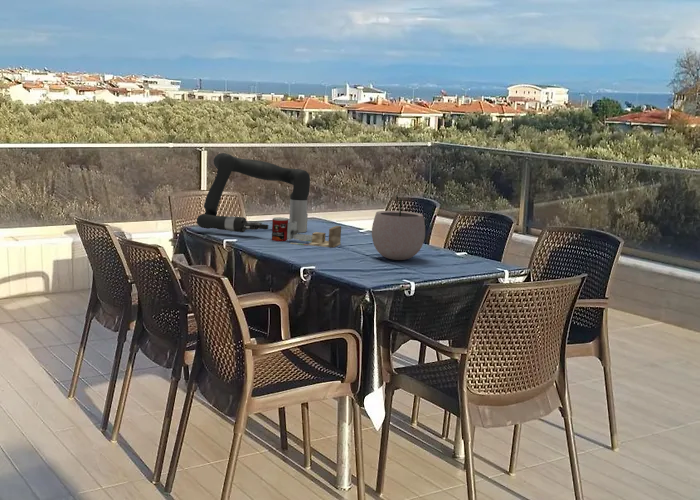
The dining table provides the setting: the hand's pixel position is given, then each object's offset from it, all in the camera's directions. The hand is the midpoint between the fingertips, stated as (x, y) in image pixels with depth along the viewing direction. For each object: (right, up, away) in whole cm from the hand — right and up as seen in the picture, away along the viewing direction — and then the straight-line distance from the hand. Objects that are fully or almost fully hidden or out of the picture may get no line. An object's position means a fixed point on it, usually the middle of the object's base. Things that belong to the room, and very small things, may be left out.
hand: (267, 227), depth 405 cm
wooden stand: (+24, -8, -6) cm, 26 cm away
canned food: (+6, -7, -1) cm, 9 cm away
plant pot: (+62, -16, -37) cm, 74 cm away
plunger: (+17, -6, -4) cm, 19 cm away
